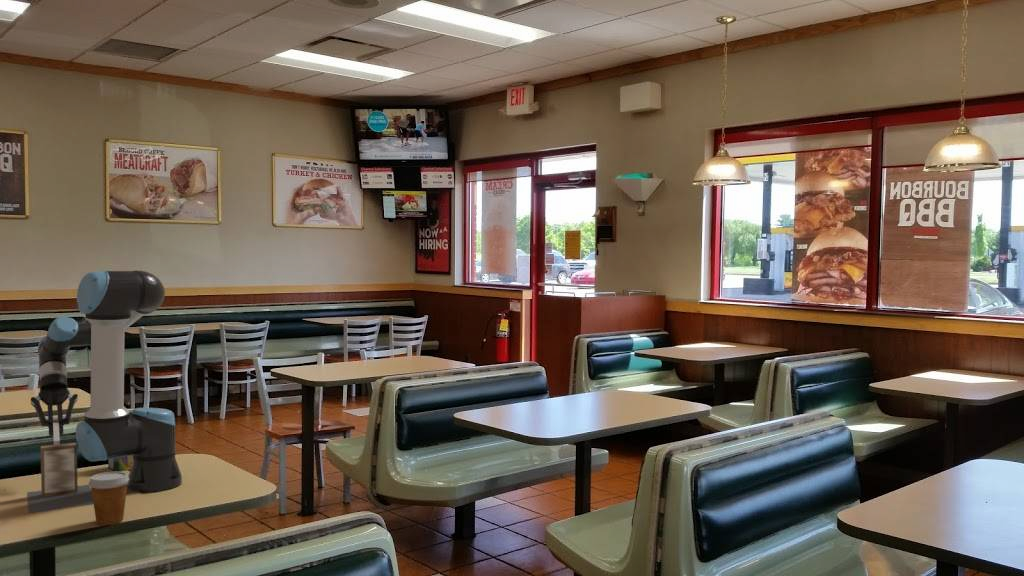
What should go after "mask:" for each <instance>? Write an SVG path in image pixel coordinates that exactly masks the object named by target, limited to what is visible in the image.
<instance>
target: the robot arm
mask: <svg viewBox="0 0 1024 576" xmlns="http://www.w3.org/2000/svg"><path fill="white" fill-rule="evenodd" d="M165 297H166V291H165V287H164V285H163V283H162V281H161V280H160V278H158V277H157V276H156V275H155V274H153V273H150V272H149V271H144V270H99V271H90V272H87V273H86V274H85V275H83V277H82V278H81V280H80V282H79V284H78V287H77V292H76V303H77V307H78V310H79V312H80V313H81V314H84V318H85V320H86V322H85V321H83V322H82V321H81V322H77V321H76V320H75V319H74V318H72V317H67V316H59V317H57V318H55V319H54V320H53V321H52V322H51V324H50V325H49V328H48V330H47V333H46V335H45V337H44V336H43V338H41V339H40V340H39V341H38V348H37V353H38V368H39V369H38V373H39V392H38V395H37V396H35V397H34V396H32V397H30V405H31V406H32V407H33V408H34V409H35V411H36V415H37V418H38V419H39V422H40V424H41V427H48V435H49V437H50V436H52V437H53V438H52V439H53V445H58V444H61V443H60V442H61V440H60V436H63V435H64V426H65V425H70V422H71V418H72V413H73V410H74V408H75V404H76V403H77V402H78V397H79V395H78V394H77V393H71V392H70V390H69V388H68V387H69V386H68V374H67V372H68V371H67V355H68V353H69V351H70V349H71V347H72V348H73V347H84V346H87V347H88V346H90V407H89V409H88V410H86V411H85V412H84V421H83V420H82V421H80V422H78V423H77V425H76V427H75V439H76V444H77V448H78V449H79V451H80V454H81V455H82V456H83V458H84V459H85V460H87V461H89V462H99V461H103V462H105V461H108V459H113V458H118V457H124V456H129V455H133V464H132V467H131V470H129V474H128V477H129V481H128V483H127V490H130V491H135V492H140V493H148V492H149V493H150V492H161V491H165V490H166V489H167V490H170V488H171V489H174V488H177V487H179V486H181V485H182V483H183V480H182V479H183V476H182V473H181V469H180V467H179V465H178V461H177V459H176V421H175V420H176V418H175V414H174V412H173V411H172V410H169V409H167V408H161V407H160V408H158V407H136V408H133V409H132V411H131V414H130V410H129V409H127V408H126V406H124V404H125V403H124V402H125V400H124V399H125V335H126V333H125V330H127V329H128V328H130V326H132V325H133V324H134V323H135V322H137V321H138V320H139V319H141V318H142V317H143V316H145V315H150V314H152V313H154V312H155V311H156V310H158V309H159V308H160V307H161V306H162V304H163V302H164V300H165ZM67 399H68V401H69V402H68V406H67V410H66V413H65V418H64V416H63V414H64V413H63V404H64V403H65V402H66V401H67ZM41 402H42V403H43V404H44V405H46V406H47V418H46V416H45V413H44V411H43V408H42V405H41ZM55 406H56V409H57V422H54V415H53V413H54V410H53V409H54V408H53V407H55ZM178 485H179V486H178ZM176 486H177V487H176Z"/></svg>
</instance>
